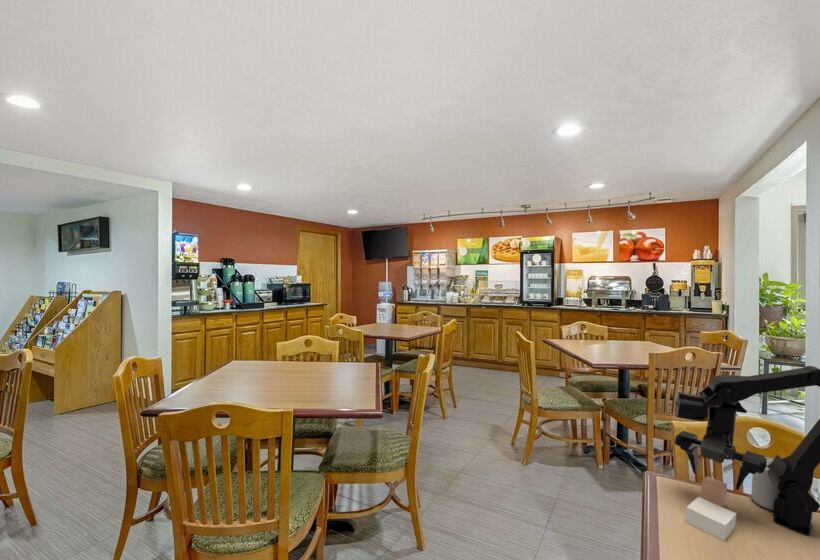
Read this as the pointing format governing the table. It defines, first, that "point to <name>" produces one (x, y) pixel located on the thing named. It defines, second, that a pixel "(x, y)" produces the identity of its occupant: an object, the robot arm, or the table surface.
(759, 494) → the can
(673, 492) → the table surface
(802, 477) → the robot arm
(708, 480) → the block
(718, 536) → the white rectangular box
